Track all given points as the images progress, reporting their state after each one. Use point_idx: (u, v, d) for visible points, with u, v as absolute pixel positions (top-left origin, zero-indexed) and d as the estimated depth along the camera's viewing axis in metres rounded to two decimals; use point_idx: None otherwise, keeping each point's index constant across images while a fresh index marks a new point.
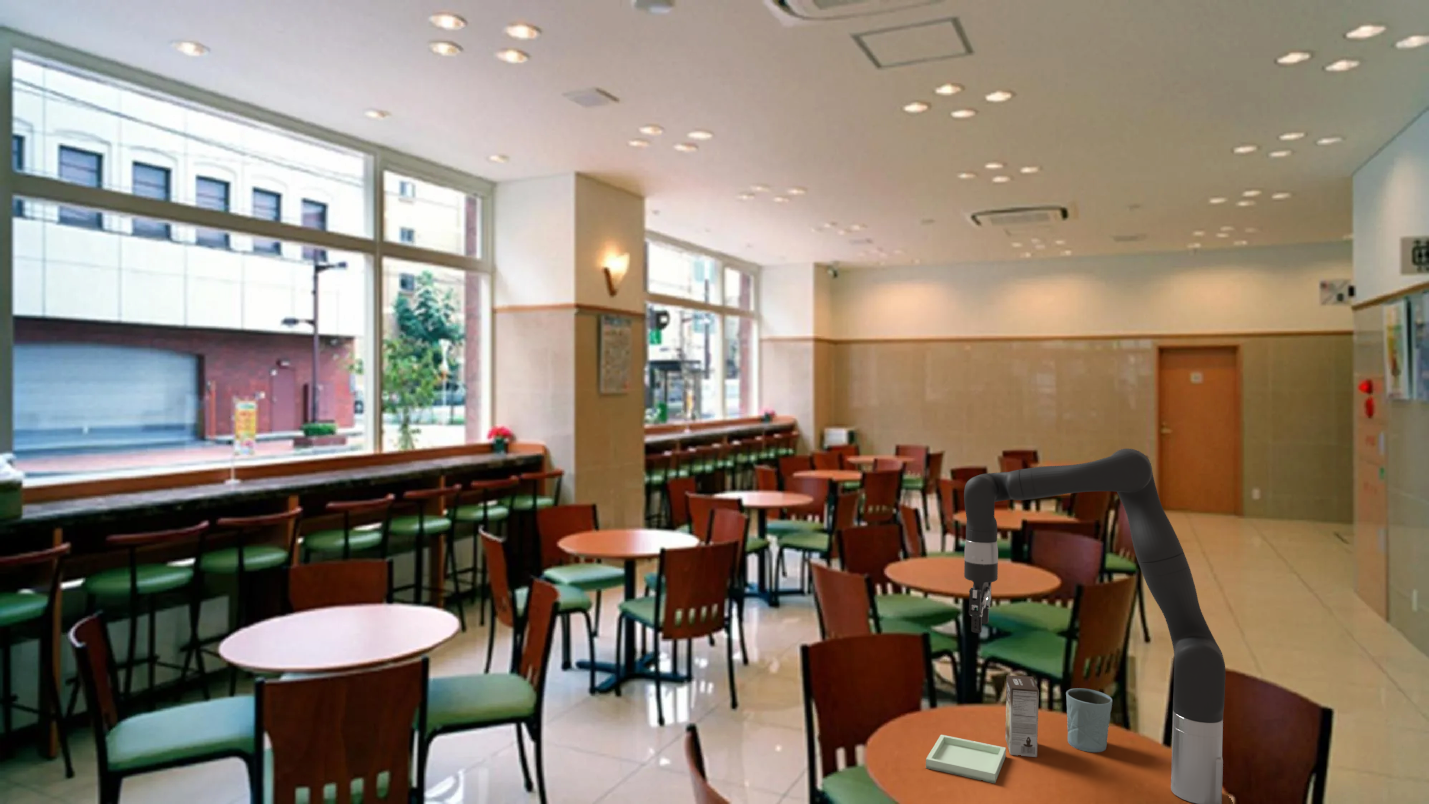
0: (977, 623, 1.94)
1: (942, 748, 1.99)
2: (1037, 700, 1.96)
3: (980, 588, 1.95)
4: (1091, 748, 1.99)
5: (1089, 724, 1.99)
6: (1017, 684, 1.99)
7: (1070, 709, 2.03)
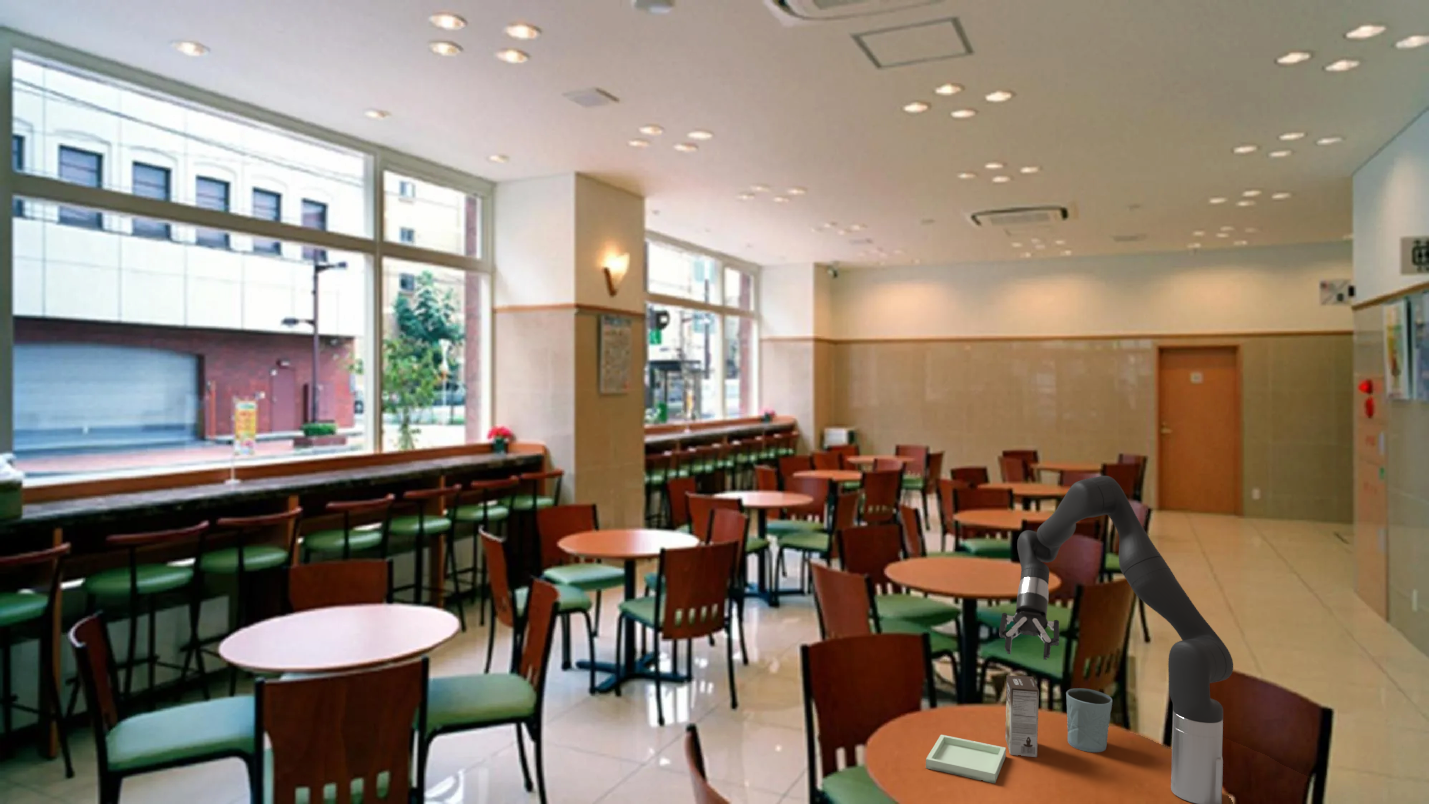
0: (1005, 642, 2.14)
1: (942, 748, 1.99)
2: (1037, 700, 1.96)
3: (1014, 615, 2.18)
4: (1091, 748, 1.99)
5: (1089, 724, 1.99)
6: (1017, 684, 1.99)
7: (1070, 709, 2.03)
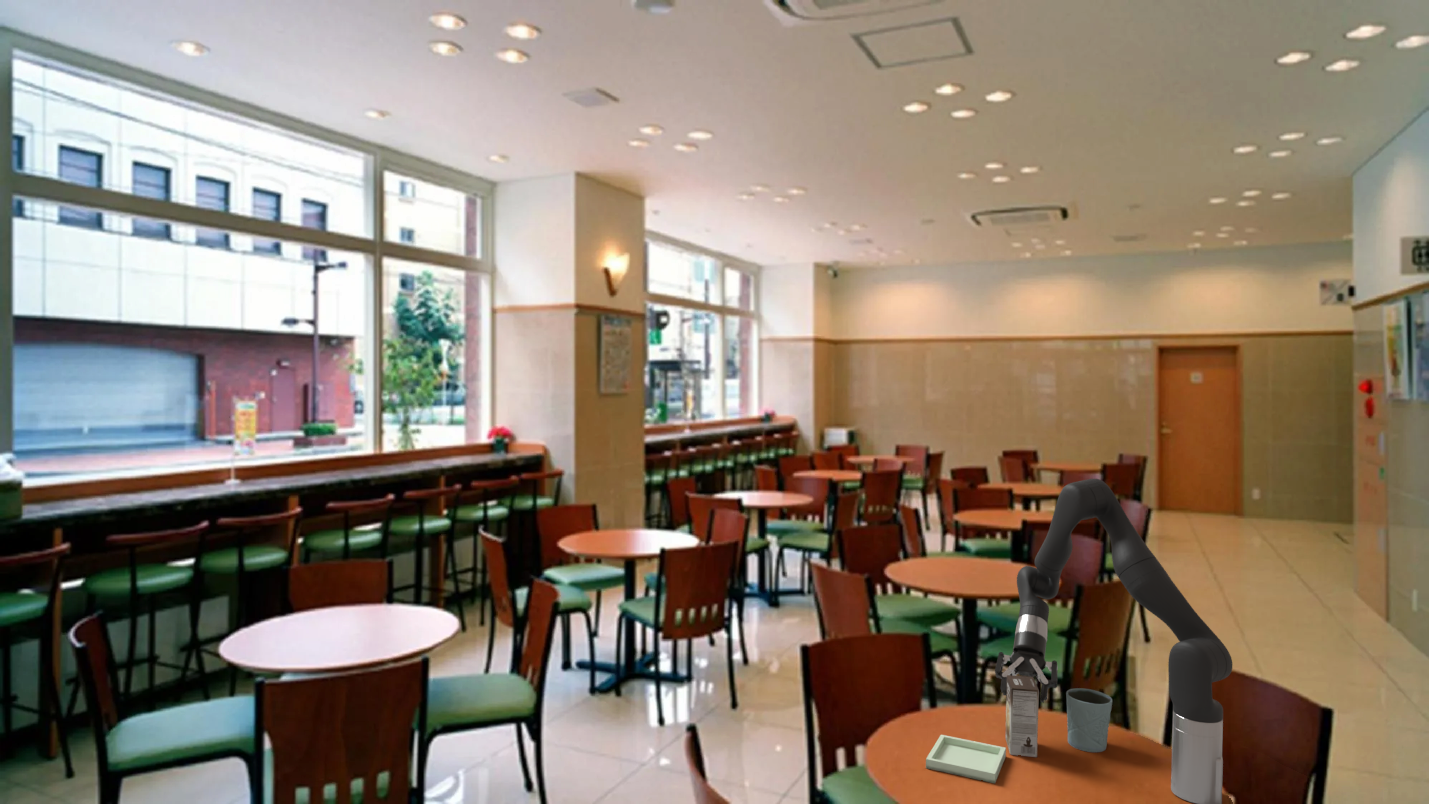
0: (1001, 683, 2.07)
1: (942, 748, 1.99)
2: (1037, 700, 1.96)
3: (1011, 655, 2.11)
4: (1091, 748, 1.99)
5: (1089, 724, 1.99)
6: (1017, 684, 1.99)
7: (1070, 709, 2.03)
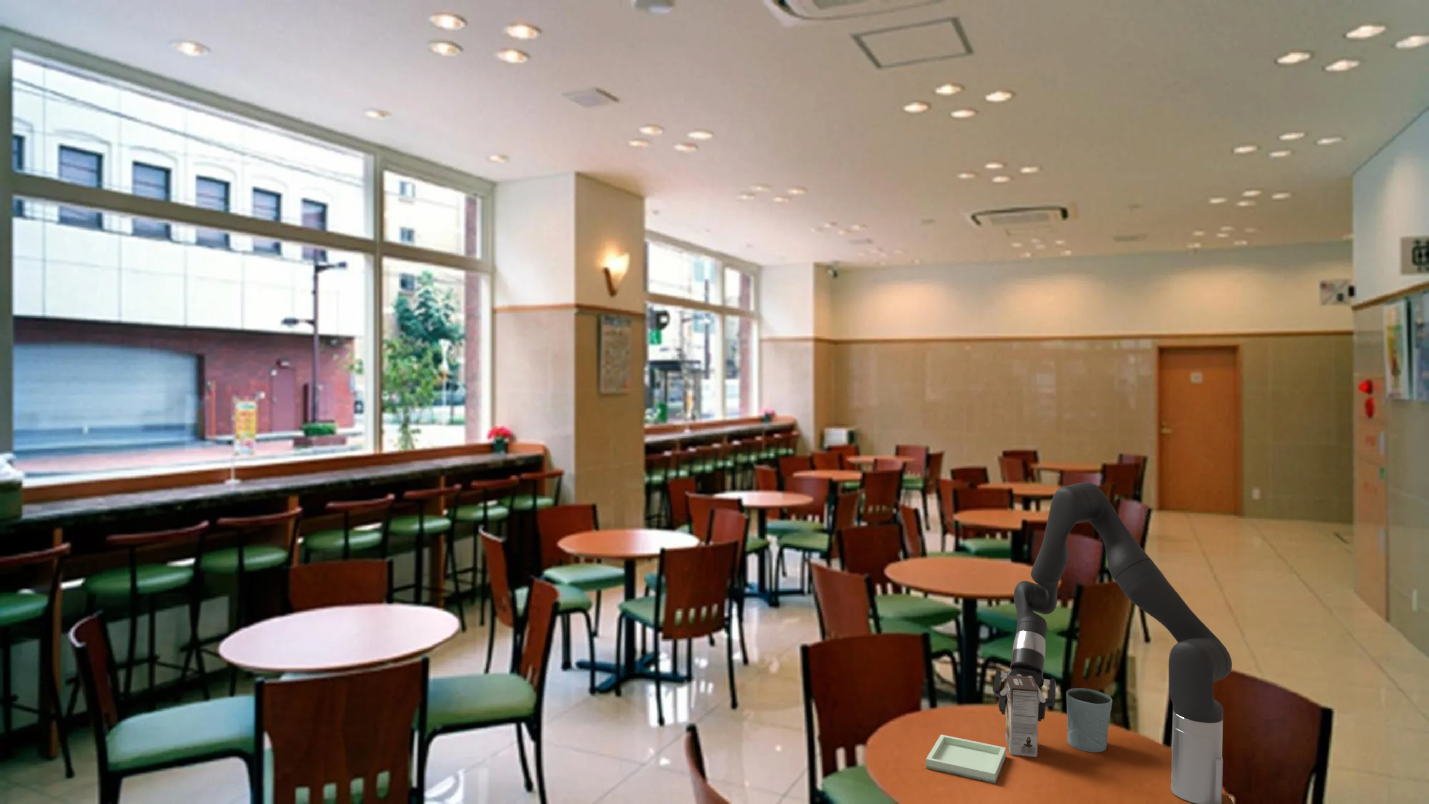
0: None
1: (942, 748, 1.99)
2: (1037, 700, 1.96)
3: (1008, 672, 2.07)
4: (1091, 748, 1.99)
5: (1089, 724, 1.99)
6: (1017, 684, 1.99)
7: (1070, 709, 2.03)
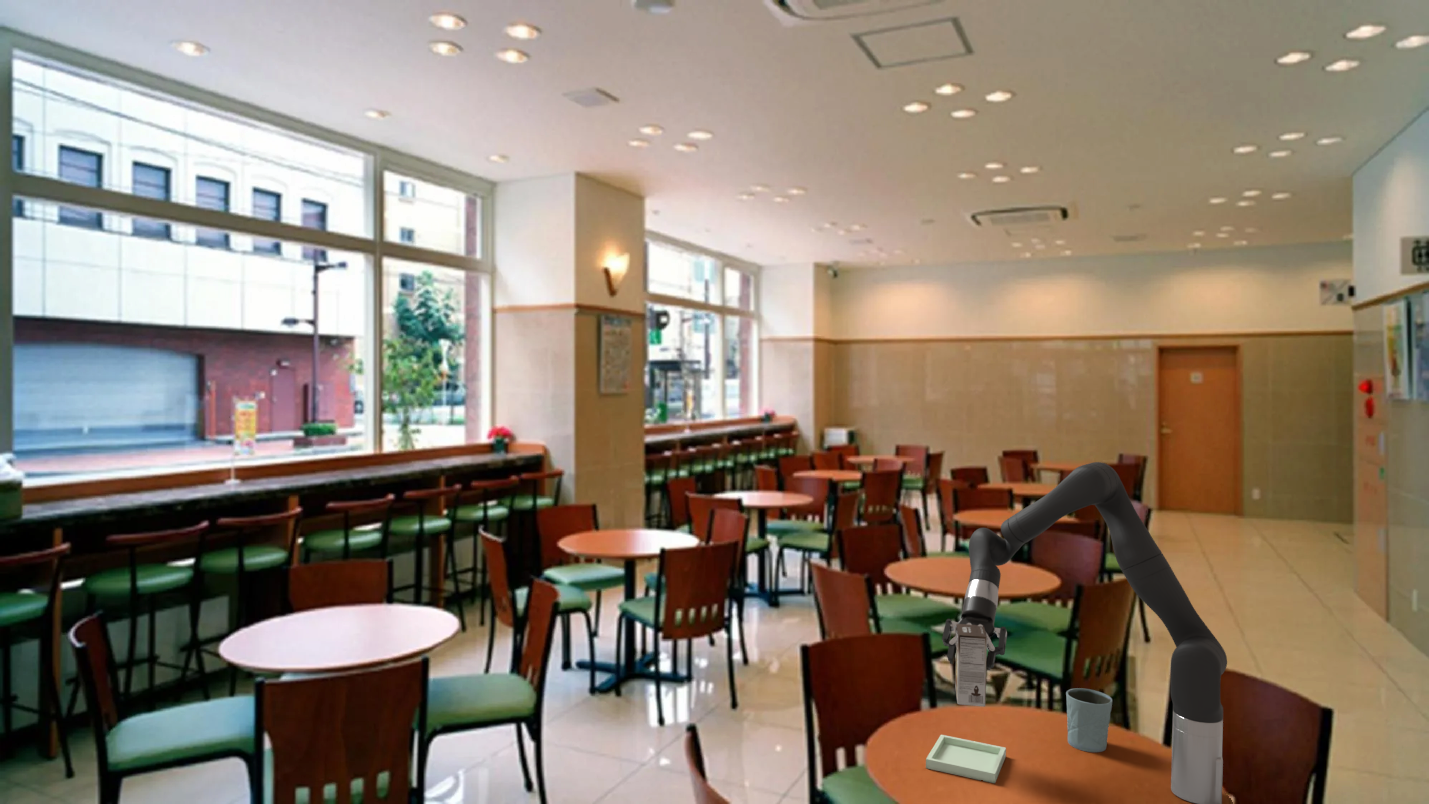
0: None
1: (942, 748, 1.99)
2: (985, 647, 1.89)
3: None
4: (1091, 748, 1.99)
5: (1089, 724, 1.99)
6: (966, 631, 1.92)
7: (1070, 709, 2.03)
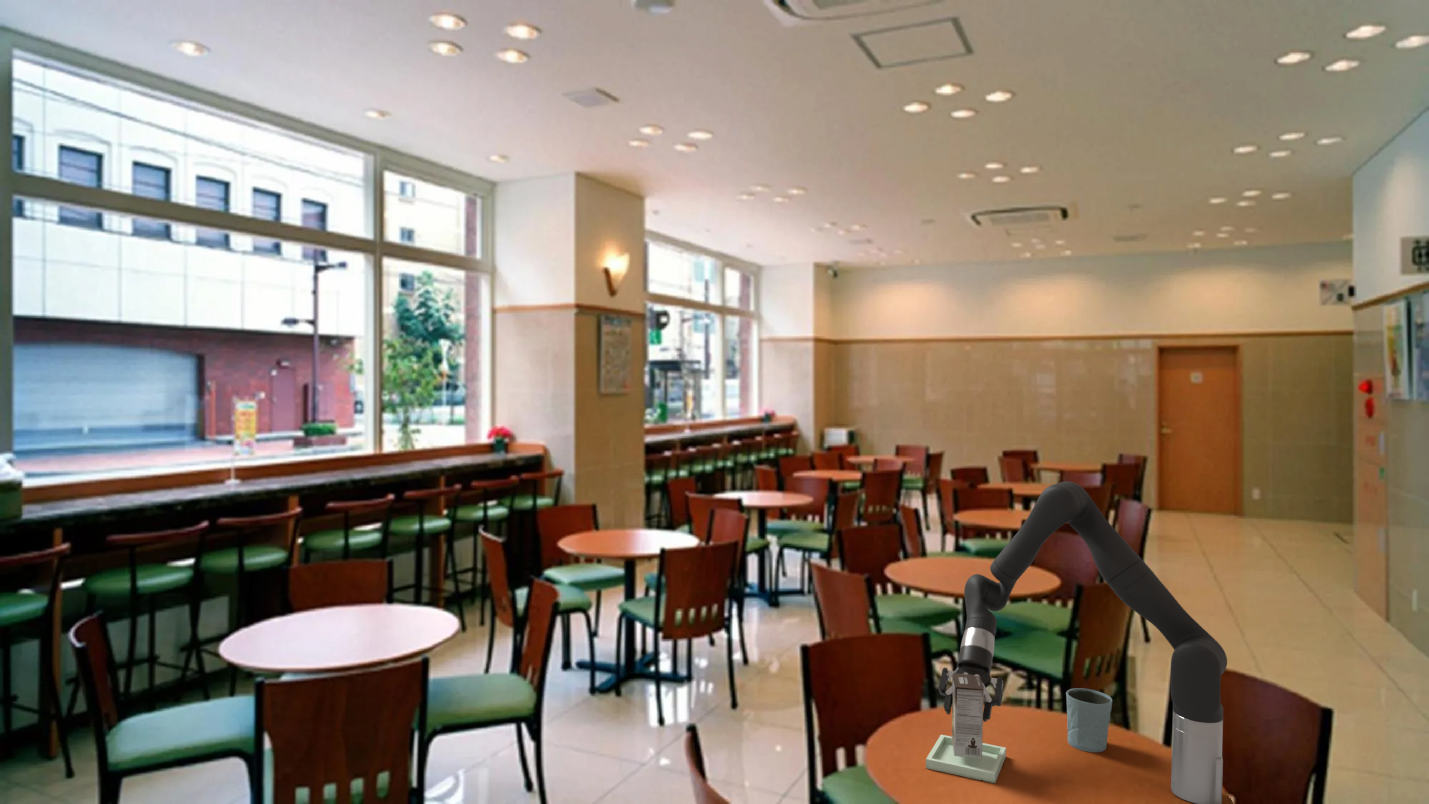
0: None
1: (942, 748, 1.99)
2: (982, 699, 1.88)
3: (955, 670, 2.00)
4: (1091, 748, 1.99)
5: (1089, 724, 1.99)
6: (962, 682, 1.92)
7: (1070, 709, 2.03)
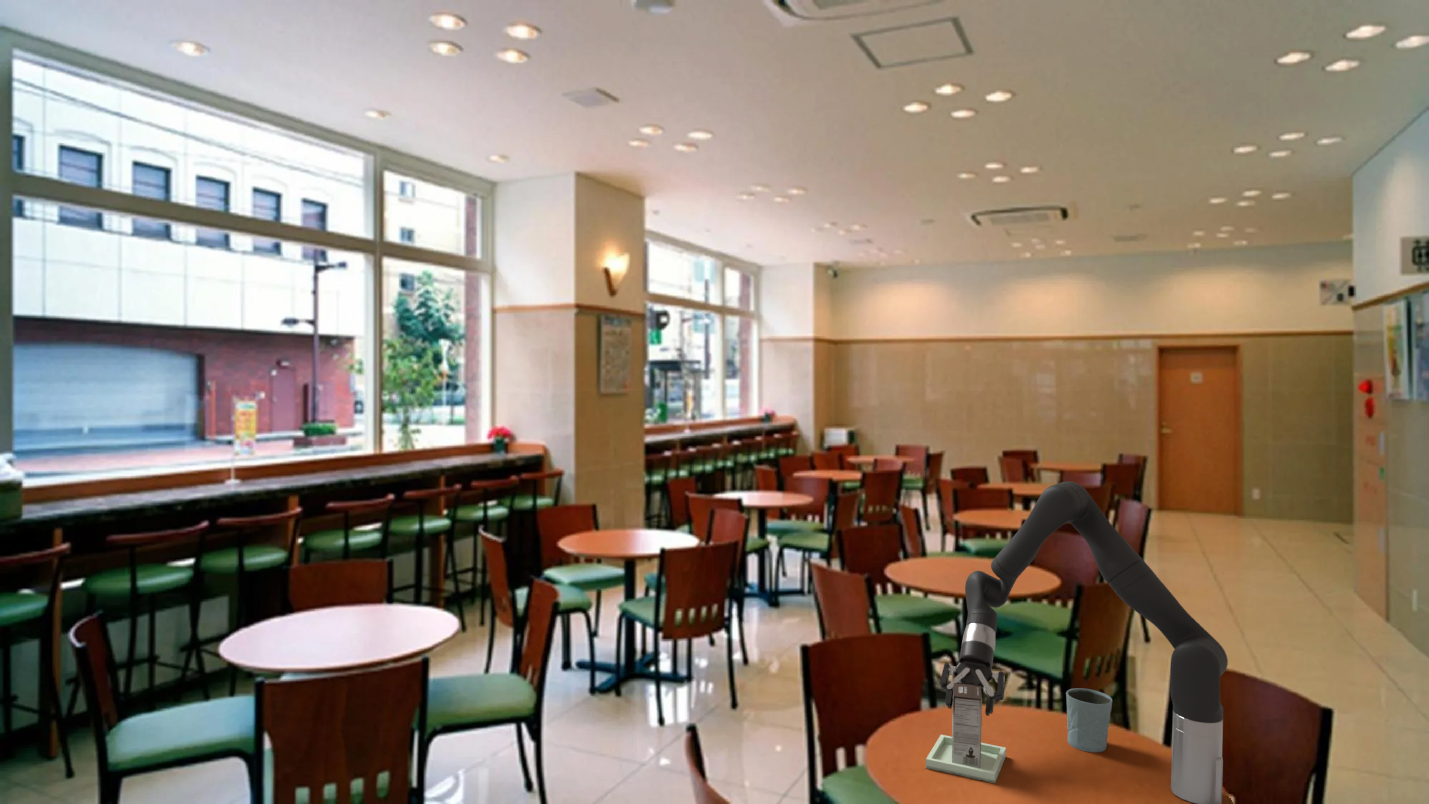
0: (946, 696, 1.97)
1: (942, 748, 1.99)
2: (980, 709, 1.88)
3: None
4: (1091, 748, 1.99)
5: (1089, 724, 1.99)
6: (961, 692, 1.92)
7: (1070, 709, 2.03)
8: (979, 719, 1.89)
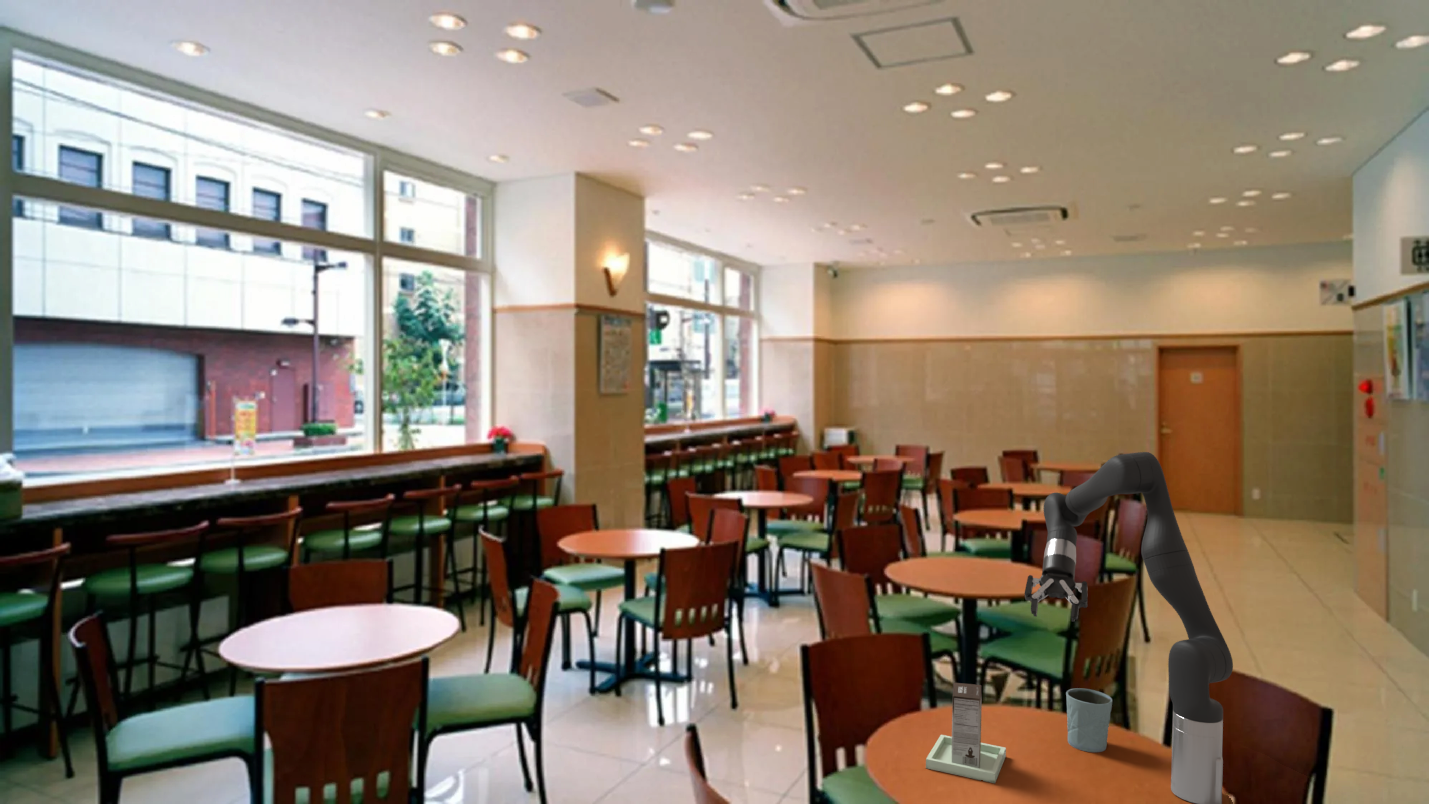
0: (1031, 605, 2.07)
1: (942, 748, 1.99)
2: (979, 709, 1.88)
3: None
4: (1091, 748, 1.99)
5: (1089, 724, 1.99)
6: (961, 692, 1.92)
7: (1070, 709, 2.03)
8: (978, 719, 1.89)
